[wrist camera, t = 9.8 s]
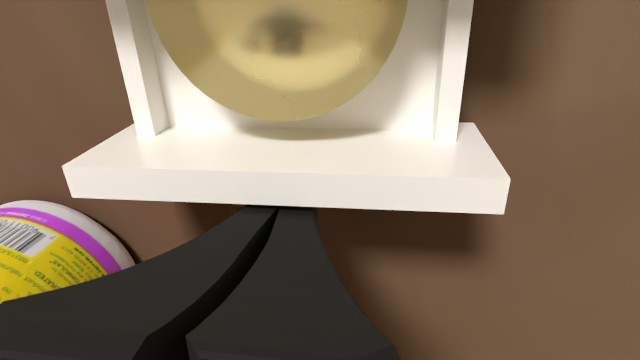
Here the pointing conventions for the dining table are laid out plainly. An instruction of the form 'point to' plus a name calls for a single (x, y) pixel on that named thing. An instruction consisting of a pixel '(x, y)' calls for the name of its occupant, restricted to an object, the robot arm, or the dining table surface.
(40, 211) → the supplement bottle
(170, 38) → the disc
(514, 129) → the dining table surface
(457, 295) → the dining table surface
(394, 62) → the tray
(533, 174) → the dining table surface
